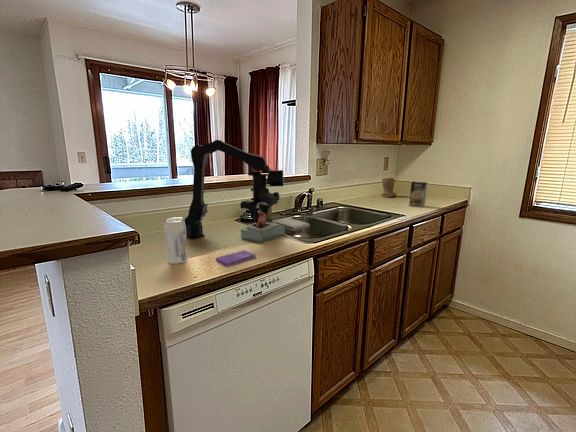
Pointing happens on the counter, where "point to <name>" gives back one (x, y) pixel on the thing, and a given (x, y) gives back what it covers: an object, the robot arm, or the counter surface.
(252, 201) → the robot arm
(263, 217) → the spout can
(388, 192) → the brown boot
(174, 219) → the beer glass
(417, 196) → the coffee box
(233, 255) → the sponges
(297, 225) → the washcloth
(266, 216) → the squeeze bottle
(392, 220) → the counter surface
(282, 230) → the grey piece
